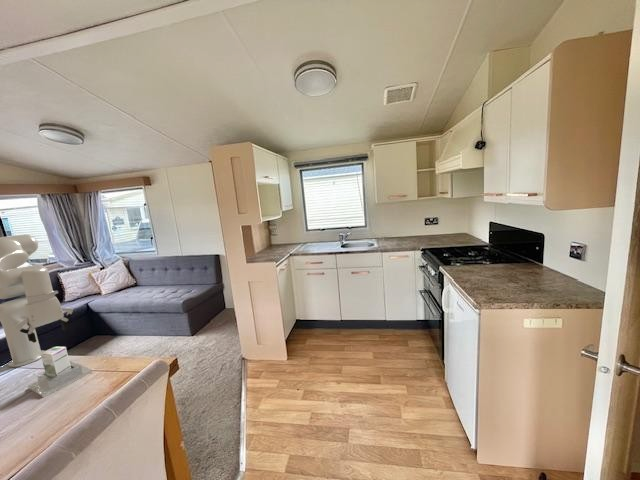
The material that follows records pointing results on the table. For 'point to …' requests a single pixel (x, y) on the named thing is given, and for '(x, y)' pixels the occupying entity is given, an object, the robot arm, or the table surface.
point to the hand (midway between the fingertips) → (50, 335)
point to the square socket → (58, 380)
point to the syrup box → (55, 361)
